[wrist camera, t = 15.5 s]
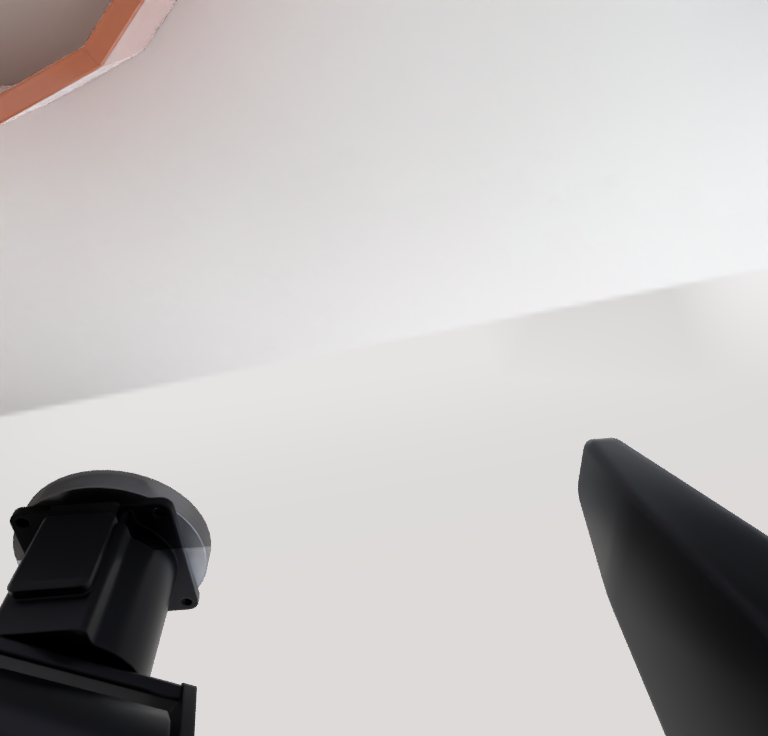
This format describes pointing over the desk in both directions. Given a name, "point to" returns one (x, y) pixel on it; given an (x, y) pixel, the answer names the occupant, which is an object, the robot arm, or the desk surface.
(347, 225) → the desk surface
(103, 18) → the ring
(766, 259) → the desk surface
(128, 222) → the desk surface
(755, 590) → the robot arm
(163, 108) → the desk surface
